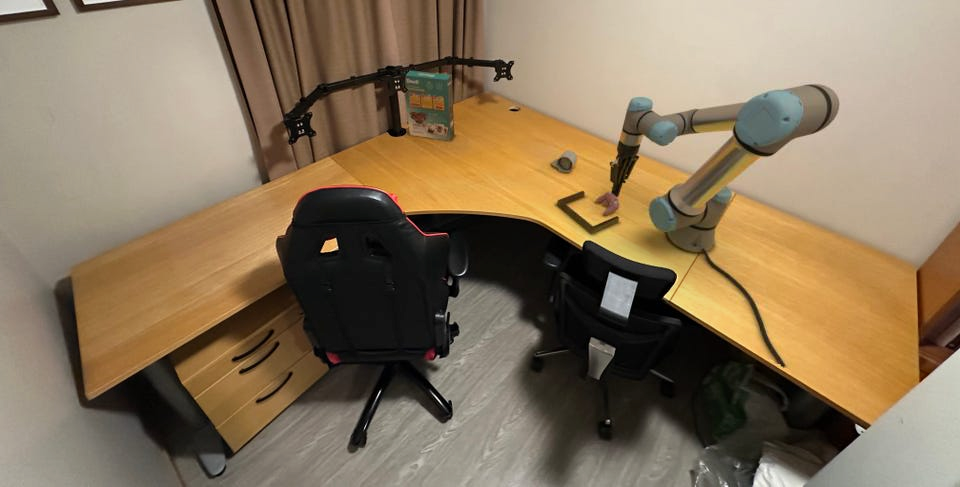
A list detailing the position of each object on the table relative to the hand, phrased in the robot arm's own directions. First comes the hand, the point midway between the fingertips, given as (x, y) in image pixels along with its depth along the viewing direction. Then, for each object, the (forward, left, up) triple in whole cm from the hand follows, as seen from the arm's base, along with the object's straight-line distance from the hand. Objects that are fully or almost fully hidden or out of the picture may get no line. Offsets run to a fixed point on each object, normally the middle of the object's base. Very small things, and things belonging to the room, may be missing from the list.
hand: (614, 195), depth 157 cm
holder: (0, +13, -4) cm, 14 cm away
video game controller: (-2, +5, -4) cm, 6 cm away
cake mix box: (+89, +38, -4) cm, 97 cm away
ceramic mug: (+31, 0, -4) cm, 31 cm away
